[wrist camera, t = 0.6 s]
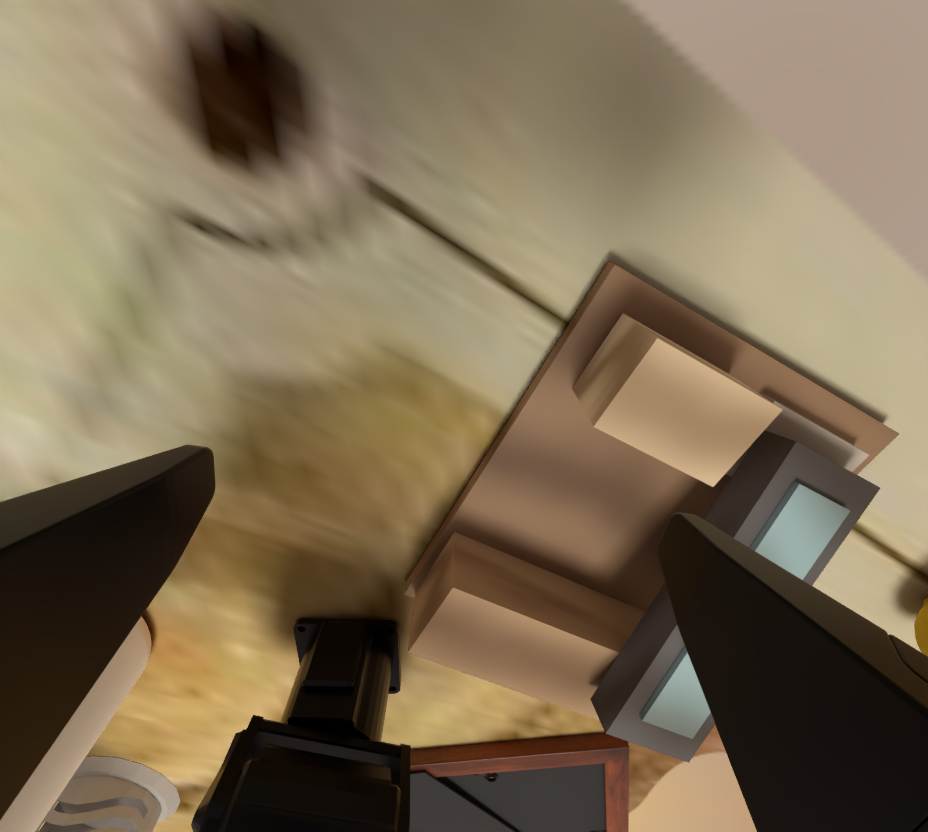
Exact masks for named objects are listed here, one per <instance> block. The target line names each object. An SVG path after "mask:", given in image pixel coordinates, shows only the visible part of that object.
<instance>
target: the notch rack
mask: <svg viewBox="0 0 928 832" xmlns="http://www.w3.org/2000/svg"><path fill="white" fill-rule="evenodd" d="M764 430H765V431H768V432H771V433H774V434H777V435H780V436H782V437H785V438H788V439H791V440H794V441H797V442H798V443H800V444H802V445H804V446H806V447H807V448H809V449H811V450H813V451H815V452H816V453H818V454H820V455H822V456H824V457H825V458H827V459H829V460H831V461H833V462H834V463H836V464H838V465H840V466H842V467H843V468H845V469H847V470H849V471H851V472H852V473H854V474H856V475H857V474H858V473H859V472H860V471H861V470H862V469H863V468H864V467H865V466H867V465H868V464H869V463H870V462H871V461H872V460H873V459H874V458H875V457H876V456H877V455H878V454H879V453H880V452H881V451H882V450H883V449H884V448H885V447H886V446H887V445H888V444H889V443H891V442H892V441H893V440H894V439H895V438H896V437H897V436H898V435H899V433H897V432H896V431H894V430H892V429H891V428H889V427H887V426H886V425H884V424H882V423H881V422H879V421H877V420H875V419H874V418H872V417H870V416H869V415H867V414H865V413H864V412H862V411H860V410H859V409H857V408H855V407H854V406H852V405H850V404H849V403H847V402H845V401H844V400H842V399H840V398H839V397H837V396H835V395H833V394H832V393H830V392H828V391H827V390H825V389H823V388H822V387H820V386H818V385H817V384H815V383H813V382H812V381H810V380H808V379H807V378H805V377H803V376H802V375H800V374H798V373H797V372H795V371H793V370H791V369H790V368H788V367H786V366H785V365H783V364H781V363H780V362H778V361H776V360H775V359H773V358H771V357H770V356H768V355H766V354H765V353H763V352H761V351H760V350H758V349H756V348H754V347H753V346H751V345H749V344H748V343H746V342H744V341H743V340H741V339H739V338H738V337H736V336H734V335H733V334H731V333H729V332H728V331H726V330H724V329H723V328H721V327H719V326H718V325H716V324H714V323H712V322H711V321H709V320H707V319H706V318H704V317H702V316H701V315H699V314H697V313H696V312H694V311H692V310H691V309H689V308H687V307H686V306H684V305H682V304H681V303H679V302H677V301H676V300H674V299H672V298H670V297H669V296H667V295H665V294H664V293H662V292H660V291H659V290H657V289H655V288H654V287H652V286H650V285H649V284H647V283H645V282H644V281H642V280H640V279H639V278H637V277H635V276H634V275H632V274H630V273H628V272H627V271H625V270H623V269H622V268H620V267H618V266H617V265H615V264H613V263H611V262H608V263H607V264H606V266H605V267H604V269H603V270H602V272H601V274H600V275H599V277H598V278H597V280H596V282H595V283H594V285H593V286H592V288H591V289H590V291H589V293H588V294H587V296H586V297H585V299H584V301H583V302H582V304H581V305H580V307H579V308H578V310H577V312H576V313H575V315H574V316H573V318H572V320H571V321H570V323H569V324H568V326H567V327H566V329H565V331H564V332H563V334H562V335H561V337H560V339H559V340H558V342H557V343H556V345H555V347H554V348H553V350H552V351H551V353H550V354H549V356H548V358H547V359H546V361H545V362H544V364H543V366H542V367H541V369H540V370H539V372H538V373H537V375H536V377H535V378H534V380H533V381H532V383H531V385H530V386H529V388H528V389H527V391H526V392H525V394H524V396H523V397H522V399H521V400H520V402H519V404H518V405H517V407H516V408H515V410H514V411H513V413H512V415H511V416H510V418H509V419H508V421H507V423H506V424H505V426H504V427H503V429H502V430H501V432H500V434H499V435H498V437H497V438H496V440H495V442H494V443H493V445H492V446H491V448H490V449H489V451H488V453H487V454H486V456H485V457H484V459H483V461H482V462H481V464H480V465H479V467H478V468H477V470H476V472H475V473H474V475H473V476H472V478H471V480H470V481H469V483H468V484H467V486H466V487H465V489H464V491H463V492H462V494H461V495H460V497H459V499H458V500H457V502H456V503H455V505H454V507H453V508H452V510H451V511H450V513H449V514H448V516H447V518H446V519H445V521H444V522H443V524H442V526H441V527H440V529H439V530H438V532H437V533H436V535H435V537H434V538H433V540H432V541H431V543H430V545H429V546H428V548H427V549H426V551H425V552H424V554H423V556H422V557H421V559H420V560H419V562H418V564H417V565H416V567H415V568H414V570H413V571H412V573H411V575H410V576H409V578H408V579H407V581H406V584H405V591H404V595H406V596H408V597H411V598H414V607H413V615H412V623H411V631H410V639H409V647H408V653H410V654H413V655H416V656H418V657H421V658H424V659H427V660H430V661H433V662H435V663H438V664H441V665H444V666H447V667H449V668H452V669H455V670H458V671H461V672H464V673H466V674H469V675H472V676H475V677H478V678H481V679H483V680H486V681H489V682H492V683H495V684H497V685H500V686H503V687H506V688H509V689H512V690H514V691H517V692H520V693H523V694H526V695H529V696H531V697H534V698H537V699H540V700H543V701H545V702H548V703H551V704H554V705H557V706H560V707H562V708H565V709H568V710H571V711H574V712H577V713H579V714H582V715H585V716H588V717H591V718H593V719H596V720H599V717H598V715H597V713H596V711H595V709H594V706H593V704H592V702H591V700H590V699H591V697H592V696H593V694H594V692H595V691H596V689H597V688H598V686H599V685H600V683H601V681H602V680H603V678H604V677H605V675H606V674H607V672H608V670H609V669H610V667H611V666H612V664H613V663H614V661H615V659H616V658H617V656H618V655H619V653H620V652H621V650H622V648H623V647H624V645H625V644H626V642H627V641H628V639H629V637H630V636H631V634H632V633H633V631H634V630H635V628H636V626H637V625H638V623H639V622H640V620H641V619H642V617H643V615H644V614H645V612H646V611H647V609H648V608H649V606H650V604H651V603H652V601H653V600H654V598H655V597H656V595H657V593H658V592H659V590H660V589H661V587H662V586H663V584H664V582H665V580H664V576H663V572H662V569H661V565H660V561H659V558H658V546H659V543H660V540H661V538H662V535H663V533H664V531H665V528H666V526H667V524H668V521H669V519H670V517H671V516H672V515H673V514H675V513H686V514H693V515H696V516H698V517H700V518H701V519H703V520H705V518H706V517H707V515H708V513H709V512H710V510H711V509H712V507H713V506H714V504H715V502H716V501H717V499H718V498H719V496H720V495H721V493H722V491H723V490H724V488H725V487H726V485H727V484H728V482H729V480H730V479H731V477H732V476H733V474H734V473H735V471H736V469H737V468H738V466H739V465H740V463H741V462H742V460H743V458H744V457H745V455H746V454H747V452H748V451H749V449H750V447H751V446H752V444H753V443H754V441H755V440H756V439H757V438H758V437H759V436H760V435H761V433H762V432H763V431H764ZM599 721H600V720H599Z"/></svg>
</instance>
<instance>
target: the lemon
mask: <svg viewBox="0 0 928 832" xmlns="http://www.w3.org/2000/svg"><path fill="white" fill-rule="evenodd" d="M915 637H916V641H917V644H918V646H919V648H920V650H921V652H922V653H923V654H925V655H926V656H928V597H926V598H925V599H924V603H923V607H922V608H921V610H920V611H919V613H918V615H917V617H916V620H915Z"/></svg>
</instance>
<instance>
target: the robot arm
mask: <svg viewBox="0 0 928 832" xmlns="http://www.w3.org/2000/svg"><path fill="white" fill-rule="evenodd" d="M214 492H215V471H214V456H213V452H212V450H211V449H210V448H208V447H202V446H195V445H185V446H181V447H178V448H175V449H172V450H168V451H165V452H162V453H159V454H155V455H152V456H149V457H145V458H142V459H139V460H136V461H132V462H129V463H126V464H123V465H119V466H116V467H113V468H110V469H106V470H103V471H100V472H97V473H93V474H90V475H87V476H84V477H80V478H77V479H74V480H71V481H67V482H64V483H61V484H58V485H54V486H51V487H48V488H45V489H41V490H38V491H35V492H32V493H28V494H25V495H22V496H19V497H15V498H12V499H9V500H6V501H2V502H0V820H1V819H2V817H3V816H4V814H5V813H6V811H7V810H8V809H9V807H10V806H11V804H12V803H13V801H14V800H15V798H16V797H17V795H18V794H19V793H20V791H21V790H22V788H23V787H24V785H25V784H26V782H27V781H28V780H29V778H30V777H31V775H32V774H33V772H34V771H35V769H36V768H37V767H38V765H39V764H40V762H41V761H42V759H43V758H44V756H45V755H46V754H47V752H48V751H49V749H50V748H51V746H52V745H53V743H54V742H55V740H56V739H57V738H58V736H59V735H60V733H61V732H62V730H63V729H64V727H65V726H66V725H67V723H68V722H69V720H70V719H71V717H72V716H73V714H74V713H75V712H76V710H77V709H78V707H79V706H80V704H81V703H82V701H83V700H84V698H85V697H86V696H87V694H88V693H89V691H90V690H91V688H92V687H93V685H94V684H95V683H96V681H97V680H98V678H99V677H100V675H101V674H102V672H103V671H104V670H105V668H106V667H107V665H108V664H109V662H110V661H111V659H112V658H113V657H114V655H115V654H116V652H117V651H118V649H119V648H120V646H121V645H122V643H123V642H124V641H125V639H126V638H127V636H128V635H129V633H130V632H131V630H132V629H133V628H134V626H135V625H136V623H137V622H138V620H139V619H140V617H141V616H142V615H143V613H144V612H145V610H146V609H147V607H148V606H149V604H150V603H151V602H152V600H153V599H154V597H155V596H156V594H157V593H158V591H159V590H160V588H161V587H162V586H163V584H164V583H165V581H166V580H167V578H168V577H169V575H170V574H171V572H172V571H173V569H174V568H175V566H176V564H177V563H178V561H179V559H180V558H181V556H182V554H183V552H184V550H185V548H186V547H187V545H188V543H189V541H190V539H191V537H192V535H193V533H194V532H195V530H196V528H197V526H198V524H199V522H200V520H201V519H202V517H203V515H204V513H205V511H206V509H207V507H208V505H209V504H210V502H211V500H212V498H213V495H214ZM658 558H659V561H660V565H661V569H662V572H663V576H664V580H665V583H666V587H667V591H668V594H669V598H670V602H671V605H672V609H673V613H674V616H675V619H676V622H677V626H678V629H679V631H680V634H681V637H682V640H683V642H684V645H685V647H686V650H687V652H688V655H689V658H690V660H691V663H692V665H693V668H694V671H695V673H696V676H697V678H698V681H699V683H700V686H701V689H702V691H703V694H704V696H705V699H706V701H707V704H708V707H709V709H710V712H711V714H712V717H713V719H714V722H715V725H716V727H717V730H718V732H719V735H720V737H721V740H722V743H723V745H724V748H725V750H726V753H727V755H728V758H729V761H730V763H731V766H732V768H733V771H734V773H735V776H736V778H737V781H738V784H739V786H740V789H741V791H742V794H743V797H744V799H745V802H746V804H747V807H748V809H749V812H750V814H751V817H752V820H753V822H754V825H755V827H756V830H757V832H928V656H926V655H925V654H923V653H921V652H920V651H918V650H916V649H915V648H913V647H911V646H910V645H908V644H906V643H905V642H903V641H901V640H900V639H898V638H897V637H895V636H893V635H888V634H887V632H886V631H885V630H883V629H882V628H880V627H878V626H877V625H875V624H873V623H872V622H870V621H869V620H867V619H865V618H864V617H862V616H860V615H859V614H857V613H855V612H854V611H852V610H851V609H849V608H847V607H846V606H844V605H842V604H841V603H839V602H837V601H836V600H834V599H832V598H831V597H829V596H828V595H826V594H824V593H823V592H821V591H819V590H818V589H816V588H814V587H813V586H811V585H810V584H808V583H806V582H805V581H803V580H801V579H800V578H798V577H796V576H795V575H793V574H792V573H790V572H788V571H787V570H785V569H783V568H782V567H780V566H778V565H777V564H775V563H774V562H772V561H770V560H769V559H767V558H765V557H764V556H762V555H760V554H759V553H757V552H755V551H754V550H752V549H751V548H749V547H747V546H746V545H744V544H742V543H741V542H739V541H737V540H736V539H734V538H733V537H731V536H729V535H728V534H726V533H724V532H723V531H721V530H719V529H718V528H716V527H715V526H713V525H711V524H710V523H708V522H706V521H705V520H703V519H701V518H700V517H698V516H696V515H693V514H686V513H675V514H673V515H672V516H671V517H670V519H669V521H668V524H667V526H666V528H665V531H664V533H663V535H662V538H661V540H660V543H659V546H658ZM389 628H390V629H389ZM294 634H295V640H296V646H297V651H298V657H299V663H300V668H299V670H298V673H297V676H296V679H295V682H294V685H293V688H292V690H291V693H290V696H289V699H288V702H287V705H286V708H285V710H284V713H283V716H282V719H281V722H276V721H271V720H266V719H263V717H261V716H256V715H253V717H252V719H251V721H250V723H249V726H248V728H247V729H246V730H244V729H243V731H242V732H239V733H236V734H235V736H234V739H233V741H232V743H231V746H230V748H229V750H228V753H227V755H226V757H225V760H224V762H223V764H222V766H221V768H220V770H219V772H218V774H217V776H216V777H215V779H214V781H213V783H212V784H211V786H210V788H209V789H208V791H207V793H206V795H205V796H204V798H203V800H202V802H201V803H200V805H199V807H198V809H197V811H196V813H195V815H194V818H193V821H192V824H191V826H192V829H193V832H409V826H410V750H411V747H410V745H405V744H401V745H395V744H390V743H385V742H381V738H382V731H383V725H384V718H385V712H386V705H387V699H388V694H394V693H398V692H399V691H400V686H401V675H400V649H399V626H398V624H397V622H395V621H392V620H355V619H312V618H301V619H298V620H297V621H296V623H295V625H294Z"/></svg>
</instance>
